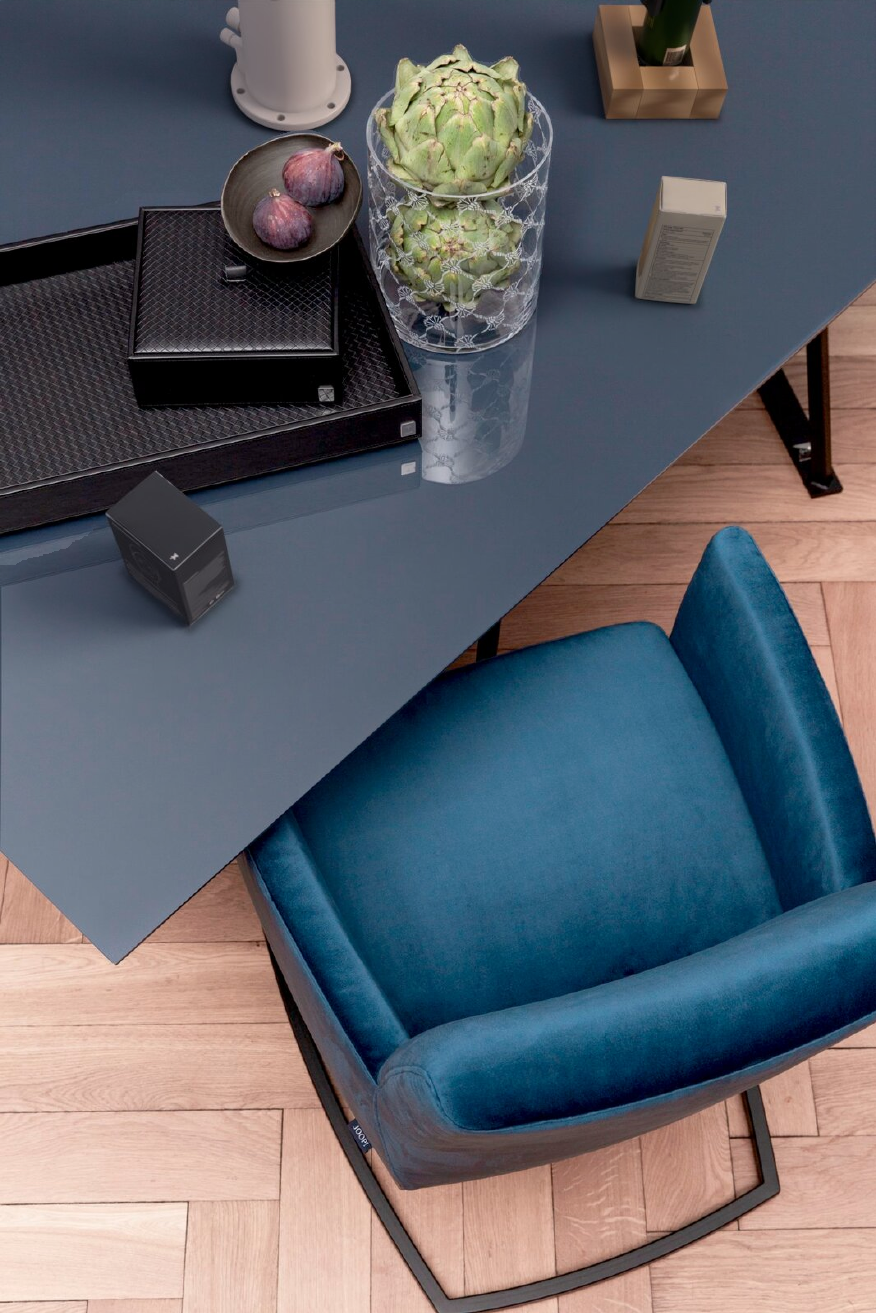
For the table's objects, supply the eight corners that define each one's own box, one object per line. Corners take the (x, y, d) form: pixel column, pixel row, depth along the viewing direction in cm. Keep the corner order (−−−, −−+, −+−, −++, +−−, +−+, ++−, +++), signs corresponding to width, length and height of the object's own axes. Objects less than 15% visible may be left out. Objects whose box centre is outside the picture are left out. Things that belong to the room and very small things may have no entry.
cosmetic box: (696, 272, 122) (730, 181, 111) (695, 306, 120) (730, 218, 109) (633, 264, 122) (661, 172, 111) (631, 298, 120) (660, 209, 109)
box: (236, 585, 105) (224, 525, 96) (189, 628, 103) (172, 572, 94) (173, 531, 107) (154, 467, 97) (125, 573, 105) (102, 512, 95)
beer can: (694, 65, 130) (726, -37, 119) (653, 81, 128) (681, -21, 117) (667, 32, 131) (695, -72, 120) (626, 48, 130) (650, -56, 119)
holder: (605, 119, 130) (613, 88, 126) (592, 36, 134) (598, 4, 131) (717, 119, 131) (728, 88, 127) (700, 37, 135) (709, 5, 132)
